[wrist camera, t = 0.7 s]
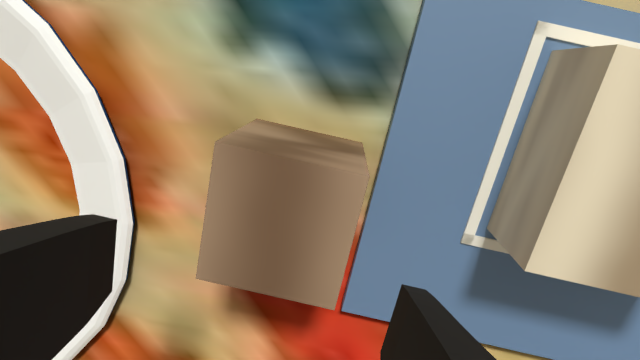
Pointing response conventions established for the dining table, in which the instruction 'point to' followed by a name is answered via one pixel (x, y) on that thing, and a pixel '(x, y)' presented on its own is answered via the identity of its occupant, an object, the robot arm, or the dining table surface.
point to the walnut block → (282, 212)
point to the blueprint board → (481, 181)
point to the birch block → (578, 173)
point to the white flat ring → (74, 137)
